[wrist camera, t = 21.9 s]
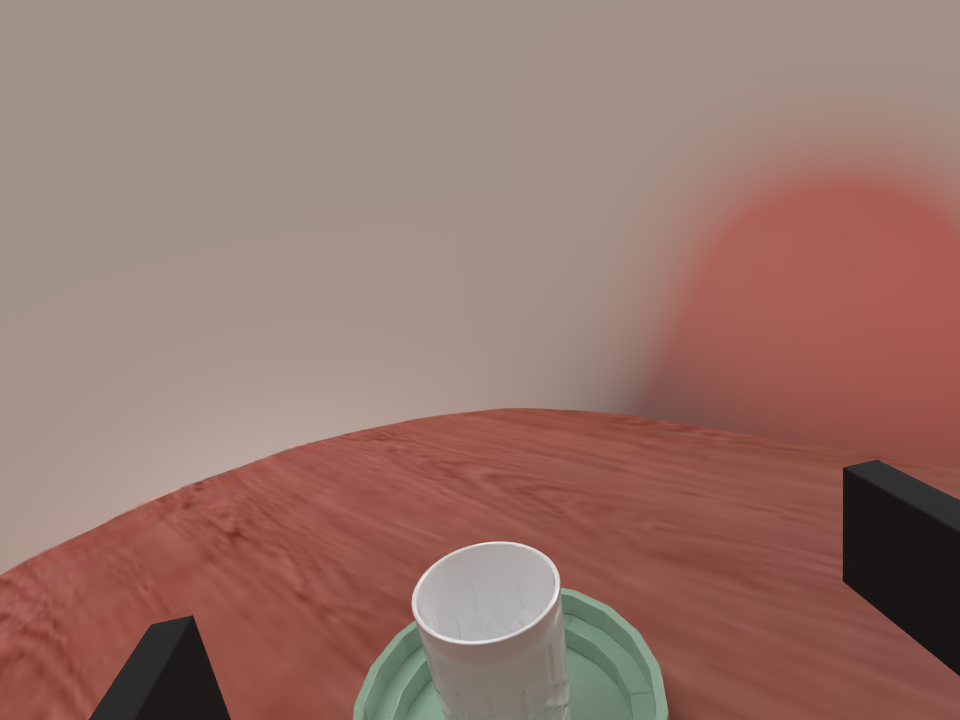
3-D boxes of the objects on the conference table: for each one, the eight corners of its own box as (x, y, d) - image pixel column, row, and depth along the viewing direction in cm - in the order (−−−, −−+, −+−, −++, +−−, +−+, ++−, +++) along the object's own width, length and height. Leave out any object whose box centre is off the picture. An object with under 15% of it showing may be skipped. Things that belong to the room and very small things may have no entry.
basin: (602, 606, 41) (596, 560, 40) (743, 867, 24) (740, 800, 23) (373, 663, 39) (361, 617, 38) (356, 987, 22) (333, 920, 21)
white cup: (421, 727, 32) (387, 586, 30) (523, 654, 36) (501, 525, 34) (497, 840, 26) (461, 673, 23) (611, 737, 30) (592, 584, 27)
